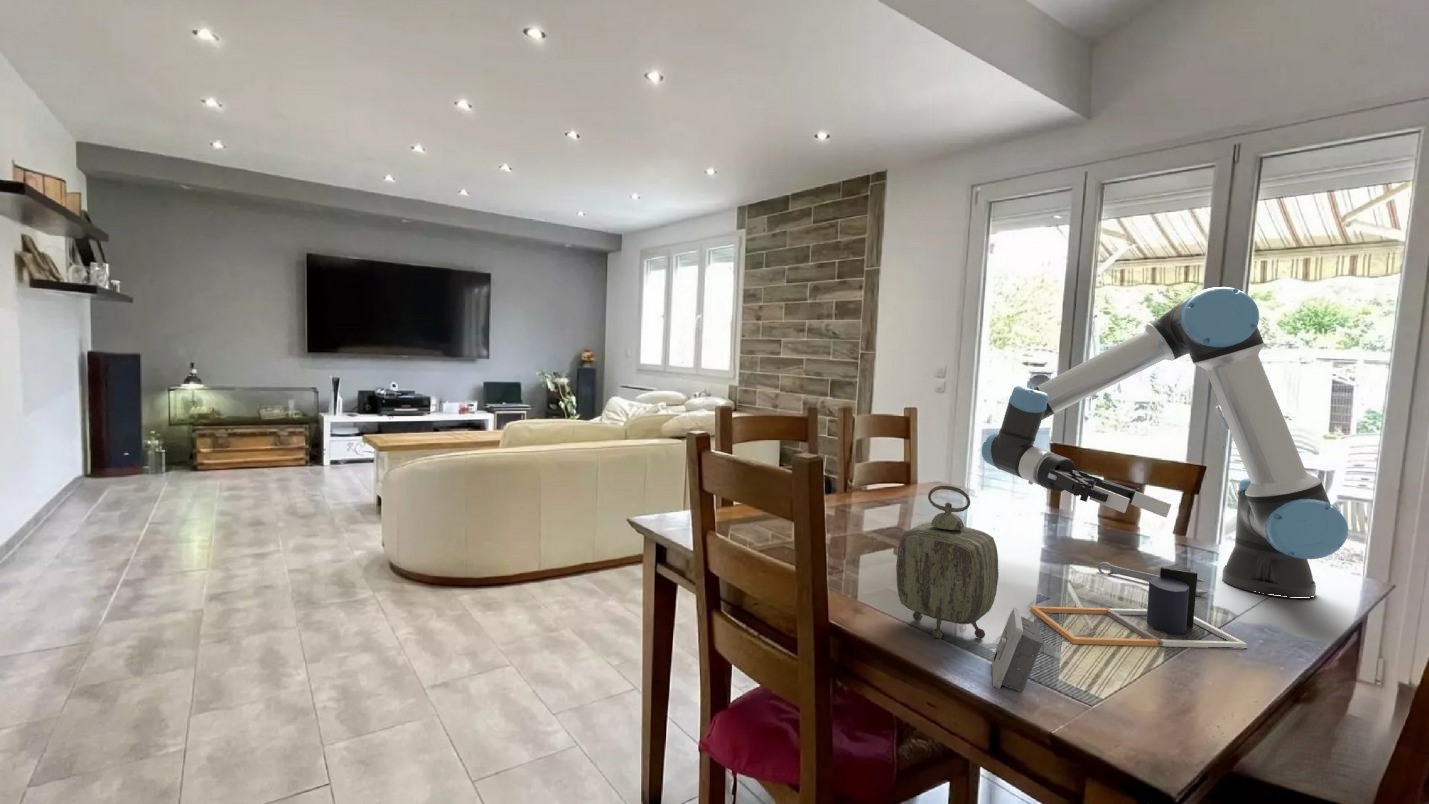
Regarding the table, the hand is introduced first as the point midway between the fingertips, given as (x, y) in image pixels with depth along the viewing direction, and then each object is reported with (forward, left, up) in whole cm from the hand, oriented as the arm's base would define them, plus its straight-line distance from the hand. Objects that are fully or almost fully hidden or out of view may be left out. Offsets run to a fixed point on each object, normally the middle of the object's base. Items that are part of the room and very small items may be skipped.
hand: (1147, 508), depth 120 cm
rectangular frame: (+7, +8, -20) cm, 22 cm away
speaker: (0, +8, -20) cm, 21 cm away
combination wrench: (-13, -17, -20) cm, 30 cm away
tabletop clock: (+42, +13, -20) cm, 48 cm away
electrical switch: (+37, +28, -20) cm, 50 cm away
